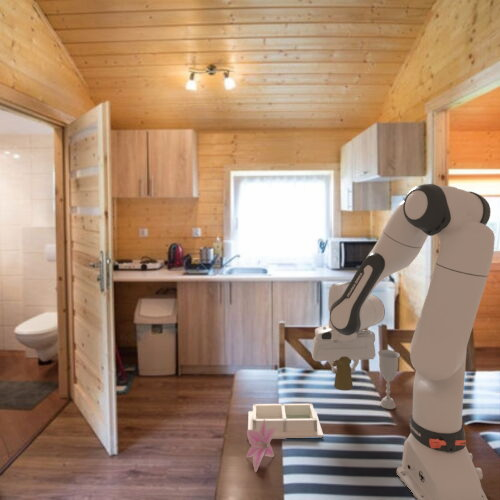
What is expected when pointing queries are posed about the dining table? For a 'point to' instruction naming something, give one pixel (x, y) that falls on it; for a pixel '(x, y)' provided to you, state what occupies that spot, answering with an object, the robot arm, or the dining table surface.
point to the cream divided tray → (286, 420)
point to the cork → (343, 374)
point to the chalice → (388, 373)
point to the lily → (260, 444)
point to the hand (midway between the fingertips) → (343, 372)
